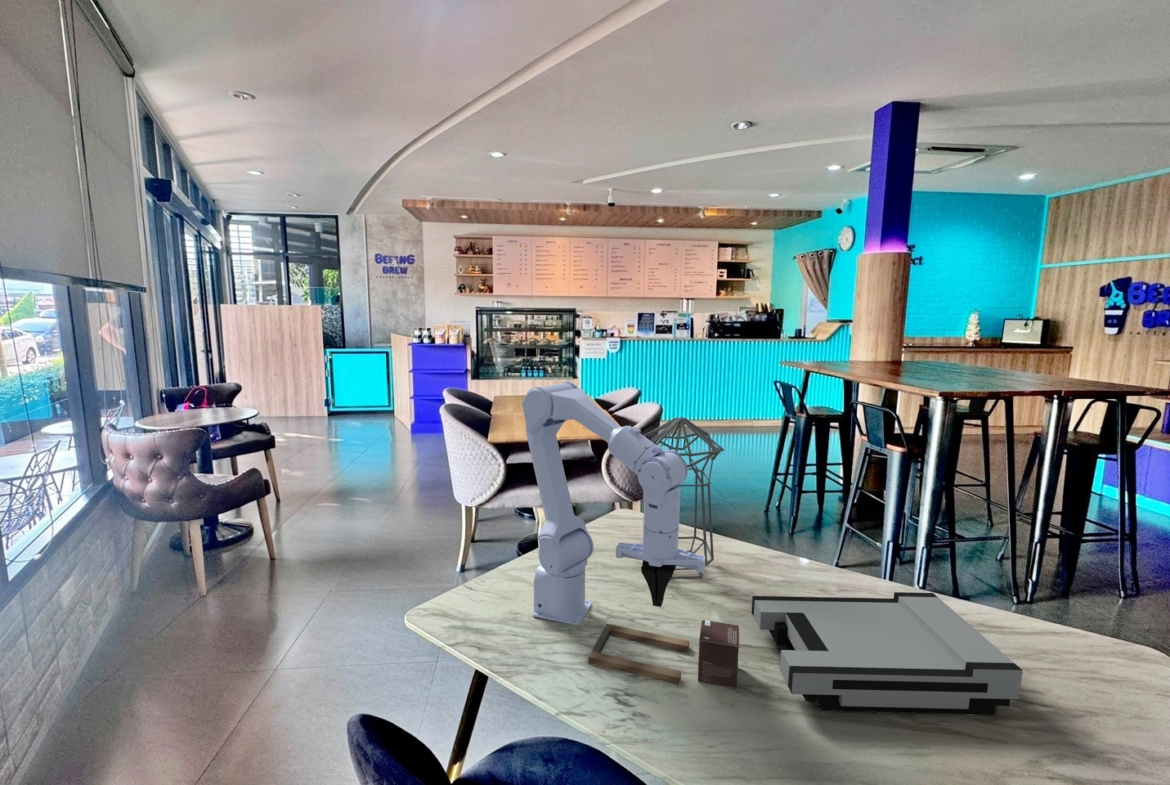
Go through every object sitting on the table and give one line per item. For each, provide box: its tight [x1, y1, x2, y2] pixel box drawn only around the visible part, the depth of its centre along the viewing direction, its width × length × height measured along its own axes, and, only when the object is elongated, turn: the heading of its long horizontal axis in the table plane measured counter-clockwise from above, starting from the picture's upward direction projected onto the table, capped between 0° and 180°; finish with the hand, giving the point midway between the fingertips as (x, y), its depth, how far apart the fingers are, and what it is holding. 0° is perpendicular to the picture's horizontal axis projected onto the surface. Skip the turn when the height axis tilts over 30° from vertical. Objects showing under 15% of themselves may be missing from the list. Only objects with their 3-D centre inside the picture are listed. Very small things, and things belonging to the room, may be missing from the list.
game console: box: [751, 591, 1024, 716], centre depth 87 cm, size 21×32×8 cm, turn 89°
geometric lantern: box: [642, 416, 725, 579], centre depth 118 cm, size 16×16×35 cm
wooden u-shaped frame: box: [587, 623, 690, 686], centre depth 91 cm, size 15×10×1 cm, turn 70°
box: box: [697, 619, 740, 689], centre depth 86 cm, size 6×6×7 cm
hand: (658, 603), depth 90 cm, fingers closed
